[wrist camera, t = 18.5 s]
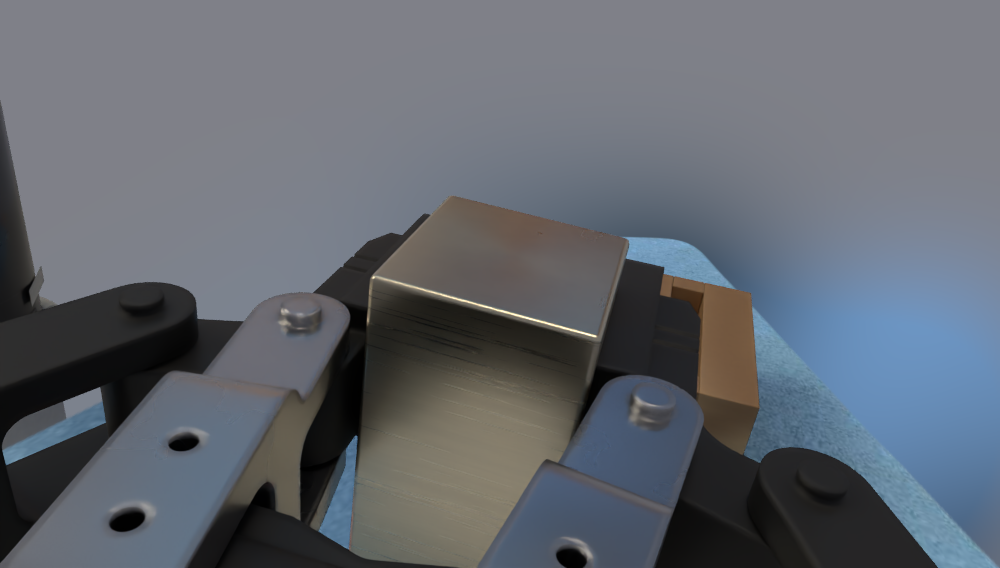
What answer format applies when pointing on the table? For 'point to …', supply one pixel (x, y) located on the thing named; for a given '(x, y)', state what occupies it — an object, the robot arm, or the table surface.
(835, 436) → the table surface
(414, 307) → the knife
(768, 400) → the table surface
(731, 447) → the knife block
